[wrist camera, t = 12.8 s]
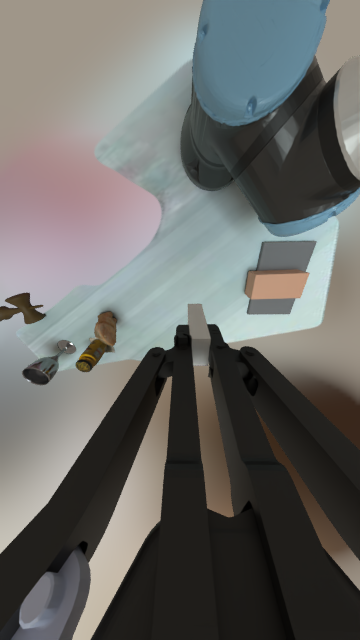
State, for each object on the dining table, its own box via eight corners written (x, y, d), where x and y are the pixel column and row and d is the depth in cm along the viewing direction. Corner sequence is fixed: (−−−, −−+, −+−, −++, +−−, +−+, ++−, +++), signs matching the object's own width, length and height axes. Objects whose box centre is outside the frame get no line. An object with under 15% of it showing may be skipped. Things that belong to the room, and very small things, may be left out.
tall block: (255, 274, 41) (309, 273, 40) (248, 271, 45) (297, 269, 45) (250, 299, 44) (300, 298, 44) (244, 293, 48) (289, 292, 48)
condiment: (89, 337, 60) (69, 359, 49) (110, 337, 59) (94, 359, 49) (95, 352, 63) (77, 375, 53) (115, 351, 63) (101, 375, 52)
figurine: (98, 313, 54) (72, 338, 41) (117, 304, 52) (95, 327, 39) (113, 331, 58) (93, 359, 45) (131, 323, 56) (115, 350, 43)
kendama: (-9, 298, 53) (41, 288, 50) (12, 322, 58) (58, 313, 55) (-30, 306, 48) (24, 295, 45) (-5, 331, 52) (45, 322, 50)
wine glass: (66, 336, 59) (33, 365, 46) (81, 350, 63) (54, 381, 50) (52, 343, 61) (16, 373, 48) (67, 357, 65) (37, 387, 51)
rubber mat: (262, 242, 42) (264, 242, 41) (313, 241, 42) (316, 241, 41) (246, 312, 53) (248, 314, 52) (287, 312, 53) (289, 314, 52)
